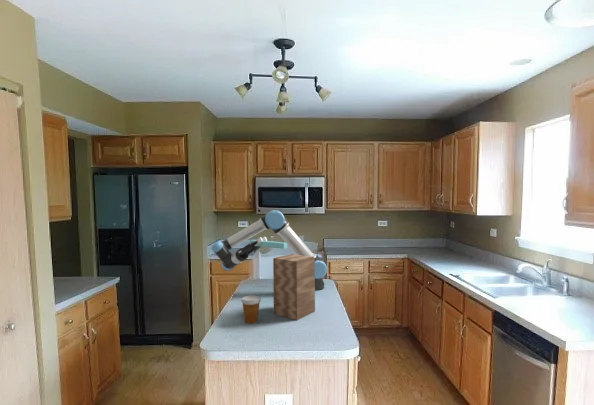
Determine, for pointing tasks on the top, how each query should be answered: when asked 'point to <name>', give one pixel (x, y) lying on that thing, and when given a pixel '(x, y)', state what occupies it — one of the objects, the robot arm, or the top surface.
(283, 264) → the stand
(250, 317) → the disposable coffee cup
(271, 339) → the top surface
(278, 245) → the bar
